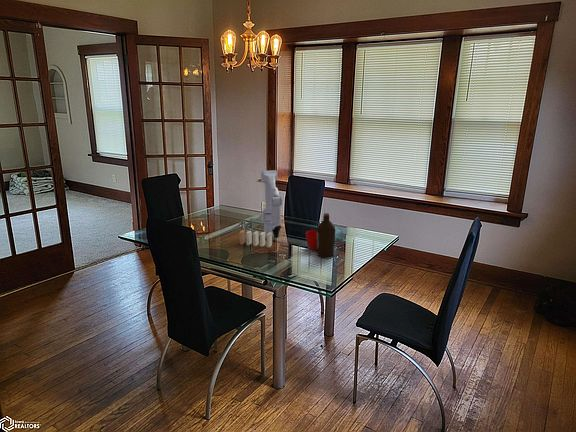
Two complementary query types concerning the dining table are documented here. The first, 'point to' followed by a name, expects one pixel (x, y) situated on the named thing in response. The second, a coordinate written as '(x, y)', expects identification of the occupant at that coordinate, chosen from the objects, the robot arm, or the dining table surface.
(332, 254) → the olive oil
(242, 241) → the terracotta domino
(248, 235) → the ivory domino
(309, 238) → the ceramic cup
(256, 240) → the ivory domino
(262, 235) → the ivory domino
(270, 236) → the ivory domino
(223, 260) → the dining table surface
